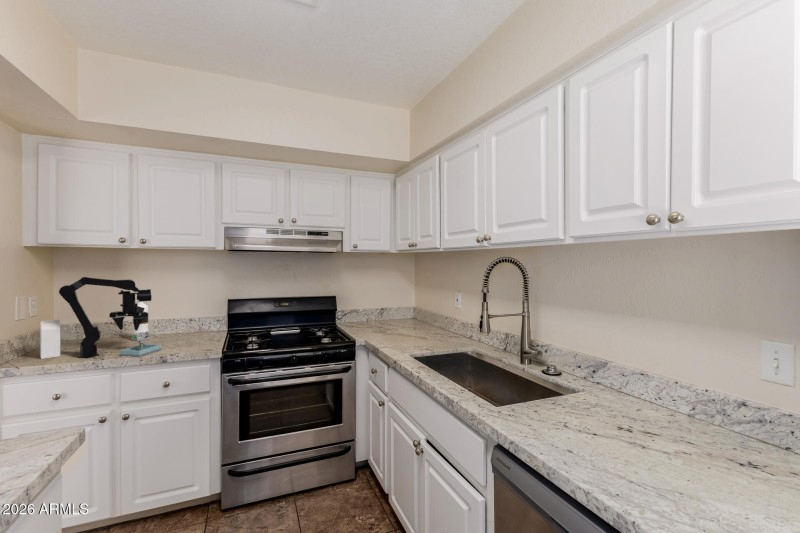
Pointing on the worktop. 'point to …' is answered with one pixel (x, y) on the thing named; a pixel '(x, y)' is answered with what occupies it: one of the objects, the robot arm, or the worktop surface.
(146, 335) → the mechanical component
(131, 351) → the tray
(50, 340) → the milk carton
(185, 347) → the worktop surface
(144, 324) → the vodka
